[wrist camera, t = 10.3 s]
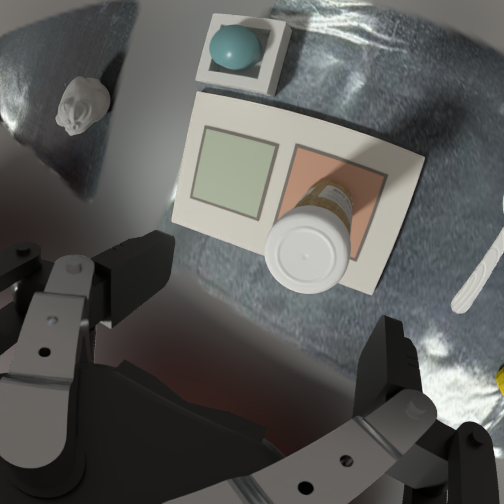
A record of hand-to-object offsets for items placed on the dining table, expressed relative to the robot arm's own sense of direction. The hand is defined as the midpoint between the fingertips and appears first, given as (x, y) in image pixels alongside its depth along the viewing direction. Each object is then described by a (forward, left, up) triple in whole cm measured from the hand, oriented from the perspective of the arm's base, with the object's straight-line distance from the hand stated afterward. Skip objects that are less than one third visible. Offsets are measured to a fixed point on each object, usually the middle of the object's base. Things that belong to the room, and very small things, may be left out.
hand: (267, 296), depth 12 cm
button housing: (+11, -11, -20) cm, 25 cm away
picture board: (+4, 0, -20) cm, 20 cm away
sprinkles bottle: (0, 0, -19) cm, 19 cm away
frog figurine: (+28, -4, -20) cm, 34 cm away
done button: (+11, -11, -18) cm, 24 cm away
